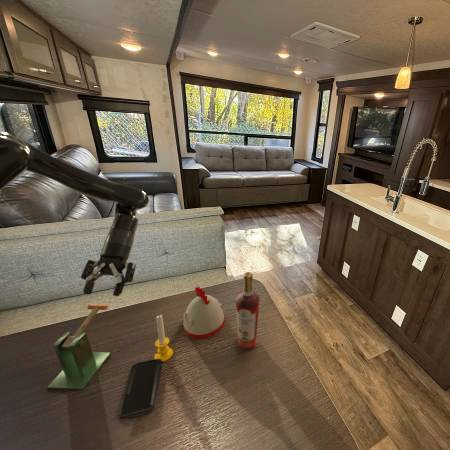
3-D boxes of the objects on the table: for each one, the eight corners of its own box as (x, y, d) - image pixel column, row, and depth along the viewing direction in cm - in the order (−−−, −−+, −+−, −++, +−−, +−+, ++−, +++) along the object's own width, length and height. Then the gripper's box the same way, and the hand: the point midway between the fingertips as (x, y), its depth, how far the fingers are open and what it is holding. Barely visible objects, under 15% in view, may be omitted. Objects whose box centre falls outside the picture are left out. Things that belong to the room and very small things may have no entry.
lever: (92, 306, 76) (88, 302, 74) (109, 307, 76) (106, 303, 75) (60, 350, 66) (55, 346, 64) (79, 351, 66) (75, 347, 64)
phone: (162, 357, 75) (153, 408, 62) (162, 360, 76) (154, 411, 63) (132, 364, 72) (116, 418, 60) (132, 366, 73) (117, 421, 60)
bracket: (80, 354, 75) (69, 322, 70) (111, 355, 76) (102, 323, 71) (47, 390, 65) (31, 356, 60) (83, 391, 66) (70, 357, 61)
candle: (150, 358, 76) (144, 316, 71) (165, 346, 80) (161, 306, 75) (162, 365, 74) (157, 323, 69) (176, 352, 78) (173, 312, 73)
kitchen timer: (211, 304, 99) (209, 273, 94) (231, 323, 91) (231, 290, 86) (176, 322, 89) (172, 289, 84) (196, 345, 81) (192, 310, 76)
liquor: (233, 351, 81) (231, 280, 70) (240, 333, 88) (239, 266, 77) (255, 353, 81) (257, 283, 70) (260, 335, 87) (262, 269, 76)
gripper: (88, 239, 78) (67, 292, 72) (134, 242, 79) (118, 295, 73) (103, 246, 85) (86, 295, 79) (146, 249, 86) (132, 297, 80)
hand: (101, 295), depth 76 cm, fingers open, 8 cm apart
